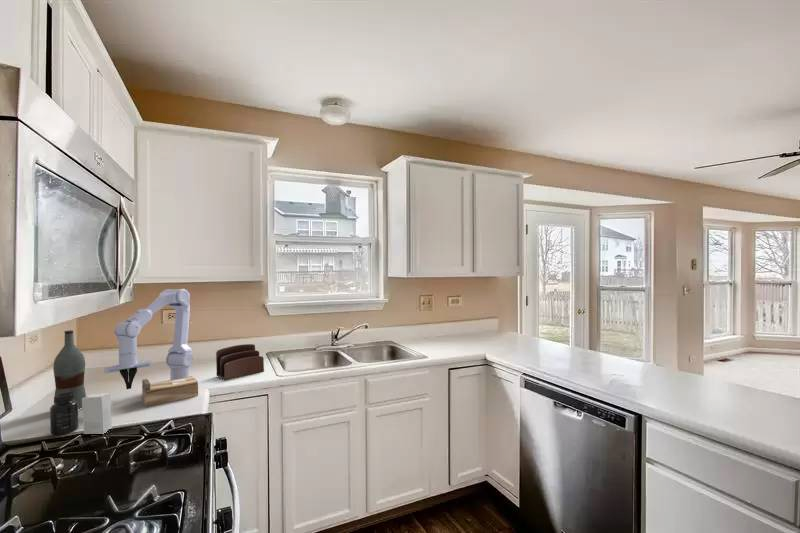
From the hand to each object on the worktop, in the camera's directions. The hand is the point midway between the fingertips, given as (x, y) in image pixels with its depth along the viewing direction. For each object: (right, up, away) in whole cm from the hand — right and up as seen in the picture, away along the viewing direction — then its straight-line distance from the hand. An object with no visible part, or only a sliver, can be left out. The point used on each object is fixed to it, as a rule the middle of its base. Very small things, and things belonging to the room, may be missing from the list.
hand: (128, 388), depth 144 cm
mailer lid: (+11, -1, +9) cm, 14 cm away
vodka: (-21, -8, -1) cm, 23 cm away
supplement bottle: (-4, -7, -23) cm, 24 cm away
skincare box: (+8, -6, -25) cm, 27 cm away
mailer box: (+11, -7, +9) cm, 15 cm away
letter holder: (+25, -7, +43) cm, 50 cm away
